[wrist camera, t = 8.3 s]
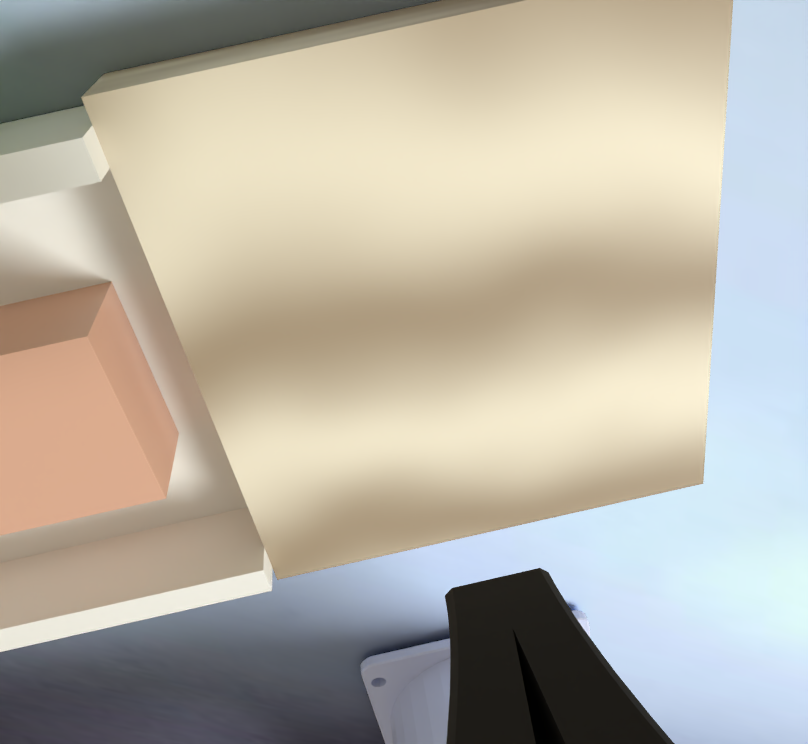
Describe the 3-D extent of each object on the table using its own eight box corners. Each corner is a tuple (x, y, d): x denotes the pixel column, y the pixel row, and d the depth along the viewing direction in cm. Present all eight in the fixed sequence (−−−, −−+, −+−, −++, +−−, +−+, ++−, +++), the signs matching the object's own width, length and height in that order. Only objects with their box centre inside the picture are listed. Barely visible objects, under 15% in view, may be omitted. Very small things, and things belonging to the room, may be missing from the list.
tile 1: (179, 433, 20) (166, 498, 18) (9, 471, 20) (-24, 540, 17) (111, 281, 17) (87, 335, 15) (-83, 324, 17) (-134, 385, 15)
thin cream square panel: (671, 439, 22) (702, 483, 21) (278, 527, 22) (277, 579, 21) (686, -53, 15) (735, -46, 14) (104, 73, 15) (80, 97, 13)
